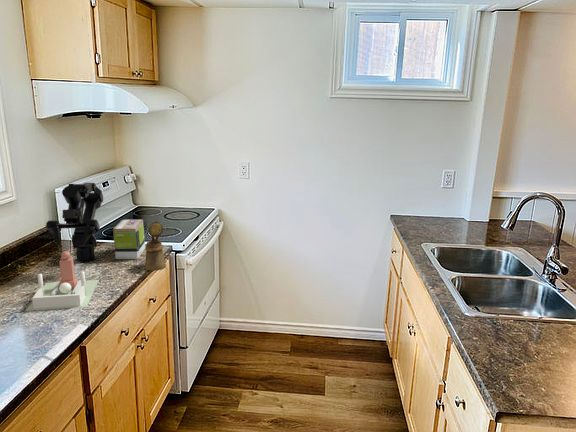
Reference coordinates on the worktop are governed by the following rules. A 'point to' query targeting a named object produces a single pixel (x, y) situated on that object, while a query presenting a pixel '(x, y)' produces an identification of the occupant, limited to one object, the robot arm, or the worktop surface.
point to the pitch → (53, 290)
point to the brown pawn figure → (155, 249)
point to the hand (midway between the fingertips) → (70, 245)
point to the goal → (58, 296)
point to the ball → (65, 288)
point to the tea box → (129, 239)
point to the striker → (67, 270)
